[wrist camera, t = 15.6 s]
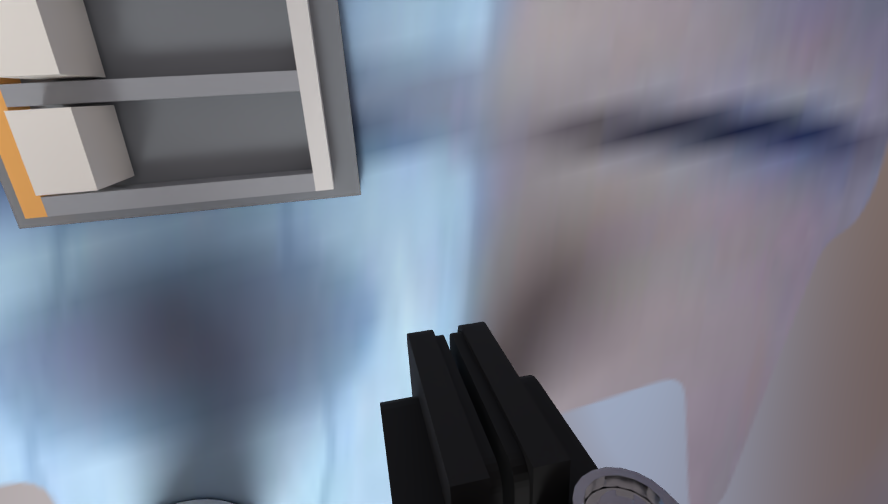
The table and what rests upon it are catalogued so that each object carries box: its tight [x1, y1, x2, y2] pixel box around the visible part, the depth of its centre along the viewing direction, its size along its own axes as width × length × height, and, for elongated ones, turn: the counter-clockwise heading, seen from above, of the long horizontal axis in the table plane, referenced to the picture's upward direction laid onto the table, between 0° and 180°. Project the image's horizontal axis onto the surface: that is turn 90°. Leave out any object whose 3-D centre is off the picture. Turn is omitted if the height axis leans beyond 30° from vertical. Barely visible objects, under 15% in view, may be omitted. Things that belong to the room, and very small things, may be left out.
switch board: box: [0, 0, 361, 229], centre depth 28 cm, size 22×16×4 cm
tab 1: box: [0, 0, 106, 80], centre depth 24 cm, size 3×4×5 cm
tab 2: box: [4, 105, 135, 196], centre depth 26 cm, size 3×4×5 cm
